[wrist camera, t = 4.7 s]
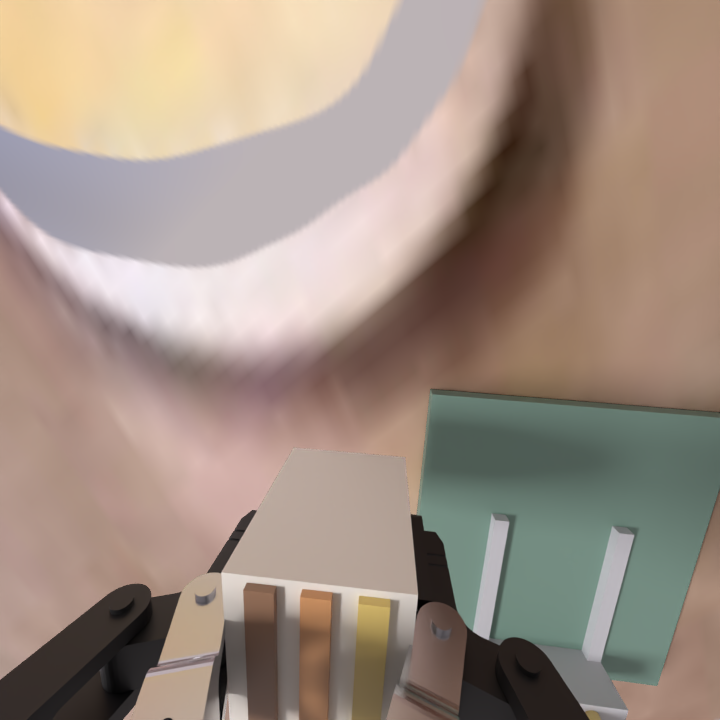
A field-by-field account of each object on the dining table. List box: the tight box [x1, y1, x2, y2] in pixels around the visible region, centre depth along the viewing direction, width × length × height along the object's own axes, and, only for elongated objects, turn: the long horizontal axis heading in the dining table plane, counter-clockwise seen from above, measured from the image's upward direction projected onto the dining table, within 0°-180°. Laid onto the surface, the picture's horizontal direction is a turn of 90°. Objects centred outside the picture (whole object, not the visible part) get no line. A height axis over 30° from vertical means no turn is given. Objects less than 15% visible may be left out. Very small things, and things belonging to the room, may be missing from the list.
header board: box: [417, 389, 720, 720], centre depth 18 cm, size 18×16×6 cm
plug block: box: [221, 448, 418, 720], centre depth 11 cm, size 5×4×6 cm
